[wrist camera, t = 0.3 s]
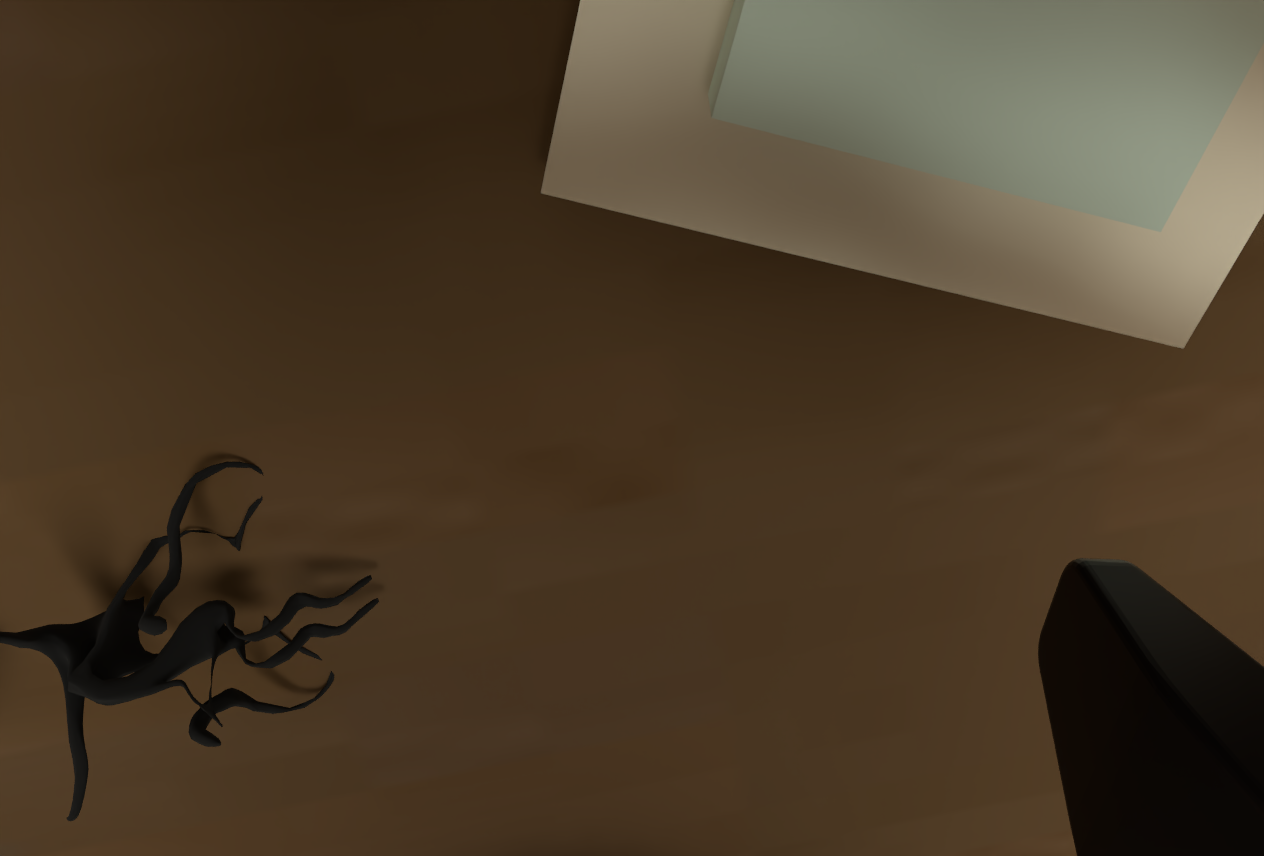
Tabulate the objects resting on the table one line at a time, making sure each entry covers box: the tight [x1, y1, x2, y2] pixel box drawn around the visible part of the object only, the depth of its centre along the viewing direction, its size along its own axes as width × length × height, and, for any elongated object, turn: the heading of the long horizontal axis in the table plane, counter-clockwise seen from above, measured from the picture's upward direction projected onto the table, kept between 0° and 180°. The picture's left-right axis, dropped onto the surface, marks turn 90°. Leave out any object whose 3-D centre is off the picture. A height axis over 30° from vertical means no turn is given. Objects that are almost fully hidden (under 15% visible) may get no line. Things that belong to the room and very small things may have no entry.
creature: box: [0, 462, 379, 821], centre depth 25 cm, size 8×5×8 cm
